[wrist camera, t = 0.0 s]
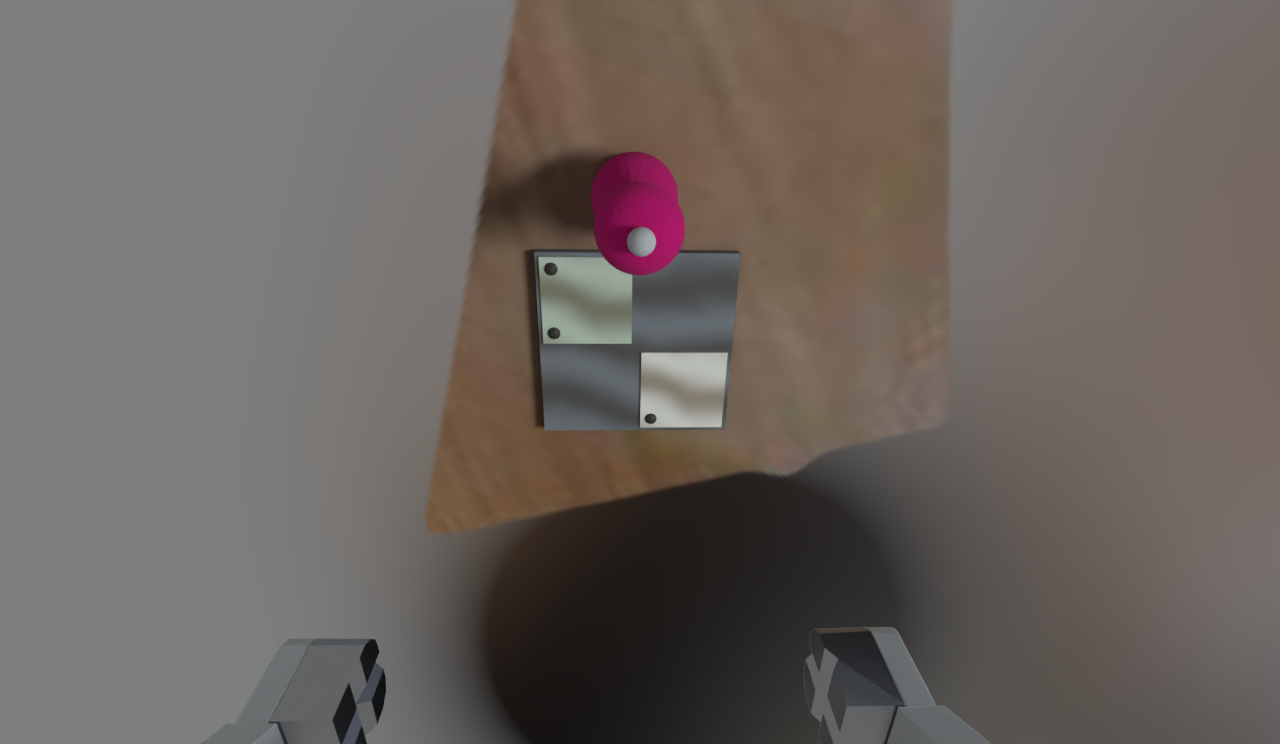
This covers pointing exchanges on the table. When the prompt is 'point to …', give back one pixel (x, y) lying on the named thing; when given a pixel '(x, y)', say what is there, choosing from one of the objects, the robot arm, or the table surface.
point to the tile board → (635, 341)
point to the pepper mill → (637, 214)
